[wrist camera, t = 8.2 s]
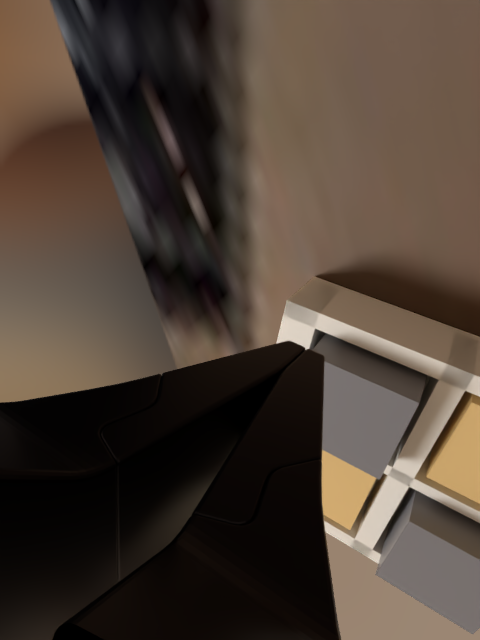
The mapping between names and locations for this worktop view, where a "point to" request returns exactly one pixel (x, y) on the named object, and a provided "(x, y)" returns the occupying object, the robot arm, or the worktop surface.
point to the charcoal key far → (435, 558)
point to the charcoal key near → (365, 404)
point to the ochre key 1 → (343, 489)
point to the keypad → (435, 404)
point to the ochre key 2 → (459, 450)
